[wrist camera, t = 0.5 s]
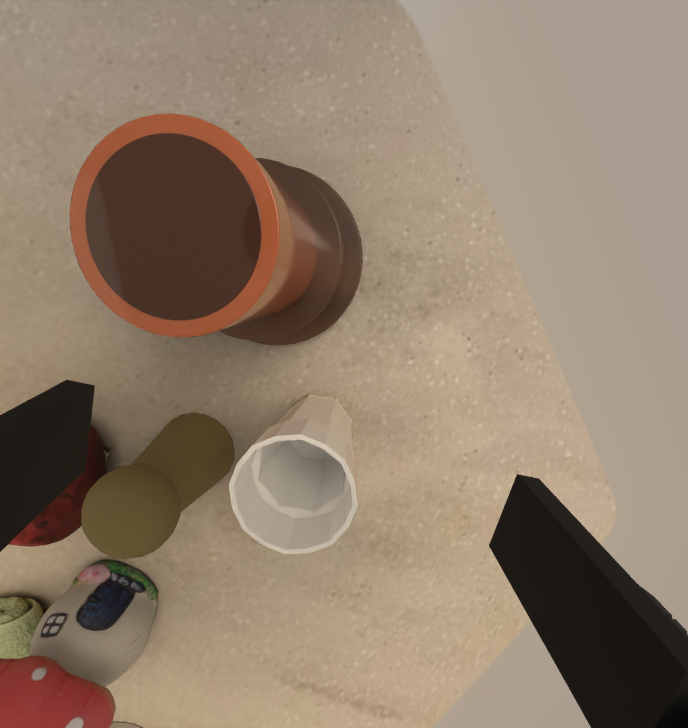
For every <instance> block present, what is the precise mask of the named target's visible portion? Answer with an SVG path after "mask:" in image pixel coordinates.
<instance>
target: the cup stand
mask: <svg viewBox="0 0 688 728" xmlns="http://www.w3.org/2000/svg"><path fill="white" fill-rule="evenodd" d="M256 159H257V161H258V162H259V163H260V164H261V165H262V166H263V167H264V168H265V169H266V170H267V171H268V173H269V174H270V175H271V176H272V177H273V178H274V179H275V180H276V181H277V182H278V183H279V185H280V186H281V187H282V188H283V189H284V190H285V191H286V192H287V193H288V194H289V196H290V197H291V198H292V199H293V200H294V201H295V202H296V203H297V204H298V205H299V206H300V208H301V209H302V210H303V212H304V213H305V214H306V216H307V218H308V219H309V221H310V223H311V226H312V228H313V231H314V234H315V238H316V244H317V261H316V267H315V271H314V274H313V277H312V280H311V282H310V284H309V286H308V288H307V289H306V290H305V292H304V293H303V295H302V296H301V297H300V298H299V299H298V300H297V301H296V302H295V303H293V304H292V305H291V306H289V307H288V308H286V309H285V310H283V311H280V312H278V313H276V314H272V315H269V316H266V317H262V318H259V319H256V320H252V321H249V322H246V323H242V324H239V325H236V326H232V327H229V328H226V329H223V330H219V331H220V332H222V333H224V334H227V335H229V336H232V337H236V338H240V339H245V340H250V341H253V342H257V343H261V344H267V345H288V344H295V343H298V342H302V341H305V340H308V339H310V338H312V337H315V336H317V335H318V334H320V333H321V332H323V331H325V330H326V329H327V328H329V327H330V326H331V325H332V324H334V323H335V322H336V321H337V319H338V318H339V317H340V316H341V315H342V314H343V313H344V312H345V310H346V309H347V307H348V306H349V305H350V303H351V301H352V299H353V297H354V295H355V293H356V290H357V288H358V285H359V281H360V277H361V272H362V263H363V260H362V245H361V239H360V235H359V231H358V228H357V225H356V222H355V220H354V218H353V215H352V213H351V212H350V210H349V208H348V207H347V205H346V203H345V202H344V201H343V200H342V198H341V197H340V196H339V194H338V193H337V192H336V191H335V190H334V189H333V188H332V187H331V186H329V185H328V184H327V183H325V182H324V181H323V180H322V179H320V178H318V177H317V176H315V175H313V174H311V173H309V172H307V171H304V170H302V169H299V168H295V167H291V166H287V165H285V164H282V163H280V162H277V161H273V160H269V159H262V158H256Z"/></svg>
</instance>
